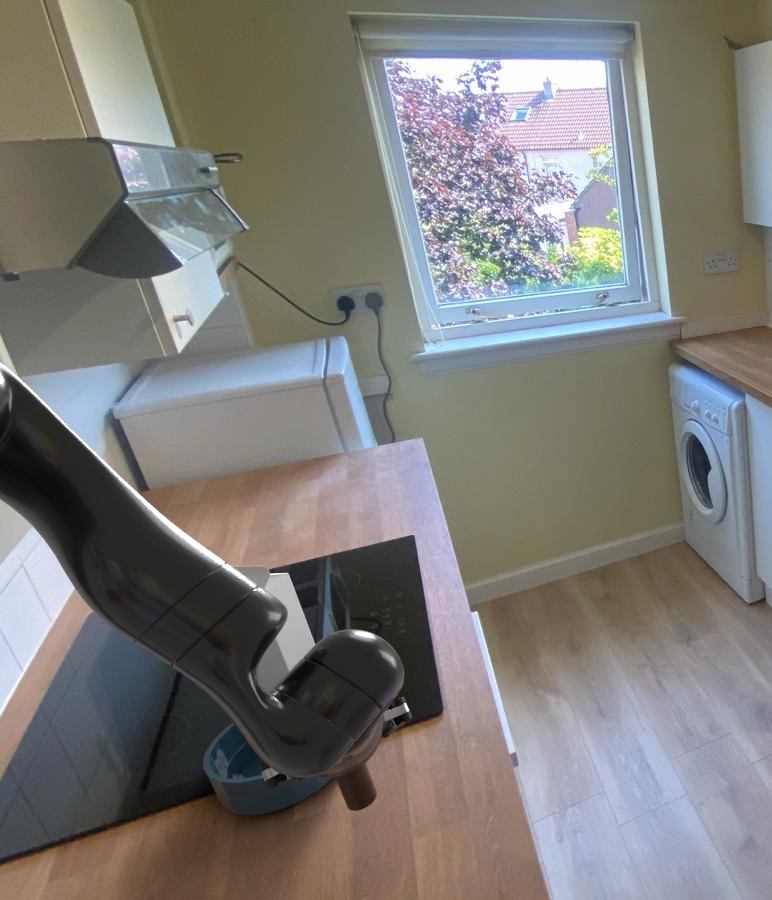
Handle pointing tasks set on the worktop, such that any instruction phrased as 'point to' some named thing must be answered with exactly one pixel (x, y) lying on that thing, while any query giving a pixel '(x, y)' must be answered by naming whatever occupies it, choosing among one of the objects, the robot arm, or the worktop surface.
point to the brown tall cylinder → (357, 788)
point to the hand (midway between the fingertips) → (342, 750)
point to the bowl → (249, 778)
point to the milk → (292, 636)
